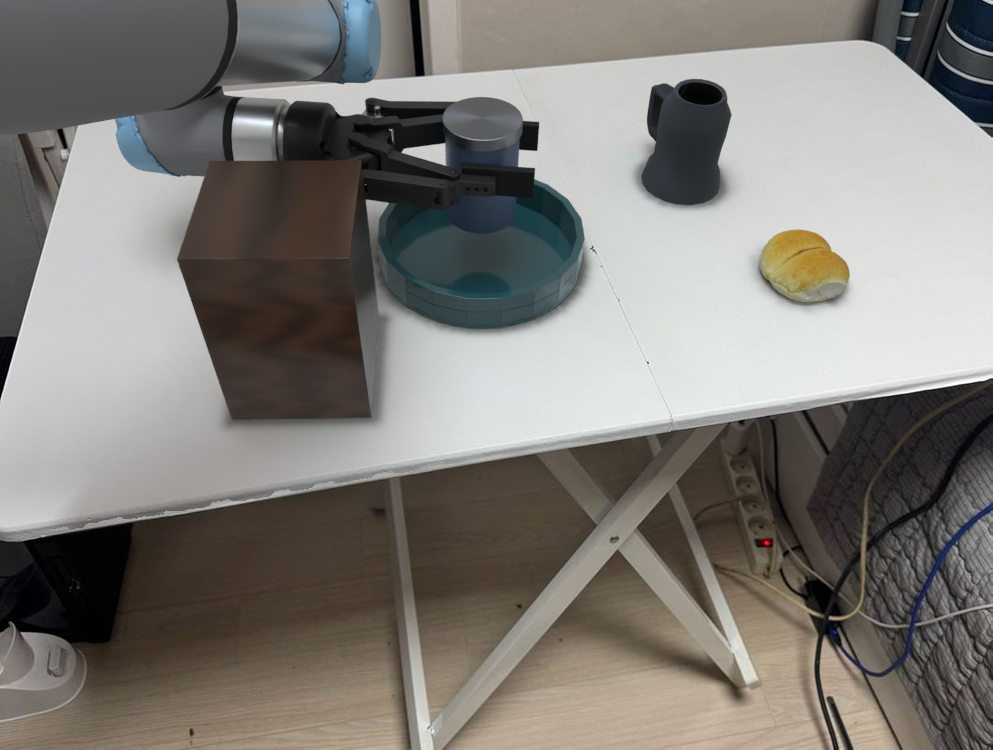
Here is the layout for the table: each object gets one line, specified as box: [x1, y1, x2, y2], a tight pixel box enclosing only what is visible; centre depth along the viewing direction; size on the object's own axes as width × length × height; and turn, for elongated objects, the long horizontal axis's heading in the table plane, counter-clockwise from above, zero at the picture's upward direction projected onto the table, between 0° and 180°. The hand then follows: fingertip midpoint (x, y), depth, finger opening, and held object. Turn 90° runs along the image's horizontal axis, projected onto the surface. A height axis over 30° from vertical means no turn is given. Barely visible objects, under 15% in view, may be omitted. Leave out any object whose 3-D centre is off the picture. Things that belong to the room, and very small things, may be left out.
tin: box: [442, 96, 524, 234], centre depth 78 cm, size 7×7×10 cm
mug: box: [640, 78, 733, 206], centre depth 93 cm, size 12×9×11 cm
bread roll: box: [758, 229, 851, 303], centre depth 84 cm, size 8×9×4 cm
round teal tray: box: [376, 178, 586, 330], centre depth 85 cm, size 21×21×4 cm
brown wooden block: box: [176, 161, 380, 421], centre depth 69 cm, size 12×12×18 cm
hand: (535, 159), depth 77 cm, fingers closed on tin, 7 cm apart
